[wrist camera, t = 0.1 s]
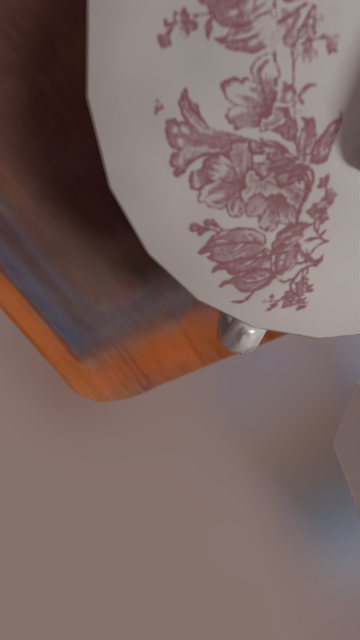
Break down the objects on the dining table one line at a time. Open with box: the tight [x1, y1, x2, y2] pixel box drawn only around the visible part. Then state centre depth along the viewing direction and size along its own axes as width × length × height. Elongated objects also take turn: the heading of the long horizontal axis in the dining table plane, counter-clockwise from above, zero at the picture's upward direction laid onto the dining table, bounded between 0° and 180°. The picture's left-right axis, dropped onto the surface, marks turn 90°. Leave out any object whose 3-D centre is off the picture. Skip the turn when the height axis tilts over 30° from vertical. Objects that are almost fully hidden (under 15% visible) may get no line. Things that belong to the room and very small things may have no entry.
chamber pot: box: [86, 0, 360, 354], centre depth 21 cm, size 28×28×21 cm
